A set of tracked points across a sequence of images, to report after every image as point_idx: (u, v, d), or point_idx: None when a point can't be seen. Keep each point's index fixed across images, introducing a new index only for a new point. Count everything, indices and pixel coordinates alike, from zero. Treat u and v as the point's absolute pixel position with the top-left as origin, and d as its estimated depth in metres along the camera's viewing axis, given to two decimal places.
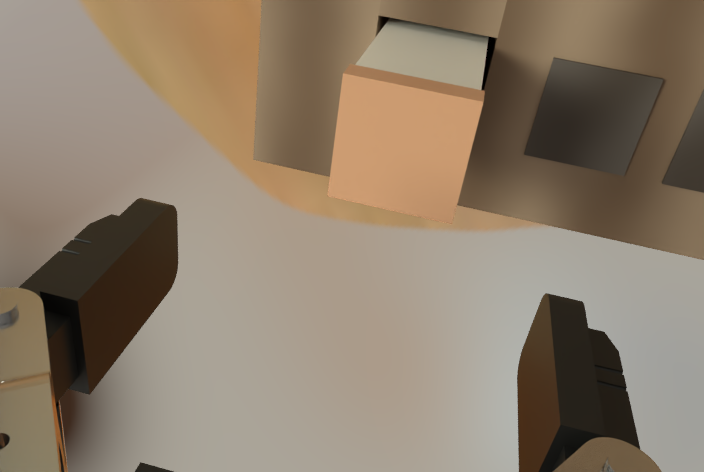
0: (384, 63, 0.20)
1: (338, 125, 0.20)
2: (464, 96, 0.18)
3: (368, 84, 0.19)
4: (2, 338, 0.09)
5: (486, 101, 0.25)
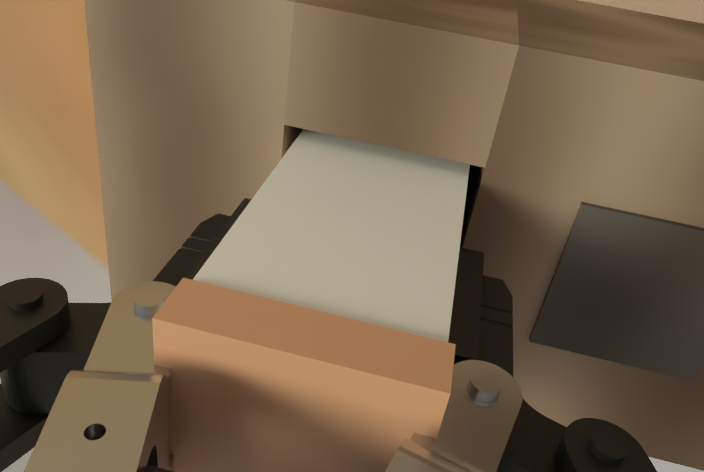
0: (262, 260, 0.10)
1: None
2: (409, 376, 0.09)
3: (206, 341, 0.09)
4: (142, 330, 0.10)
5: None
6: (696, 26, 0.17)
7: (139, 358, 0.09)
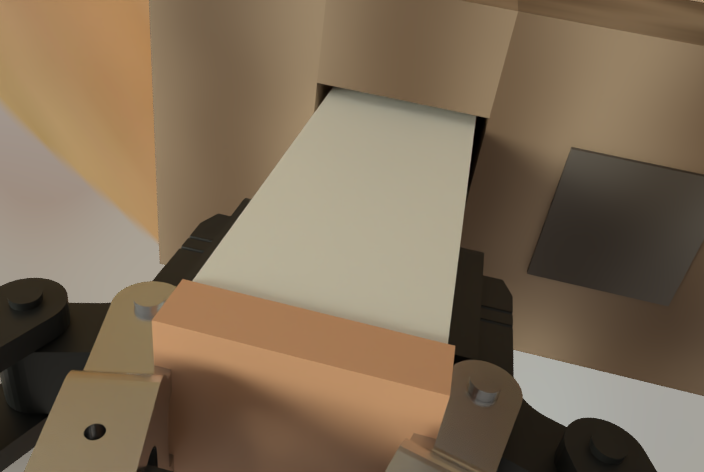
0: (262, 262, 0.10)
1: None
2: (409, 378, 0.09)
3: (206, 343, 0.09)
4: (142, 329, 0.10)
5: (473, 201, 0.18)
6: (673, 0, 0.19)
7: (139, 358, 0.09)
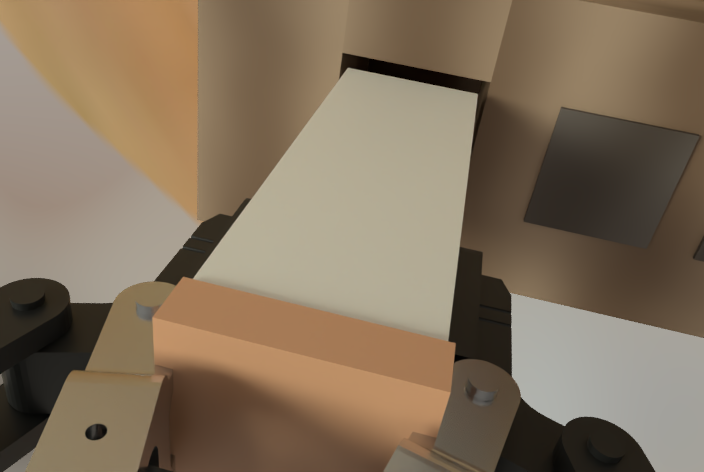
0: (262, 260, 0.10)
1: None
2: (410, 374, 0.09)
3: (207, 340, 0.09)
4: (144, 329, 0.10)
5: (477, 157, 0.20)
6: None
7: (141, 358, 0.09)
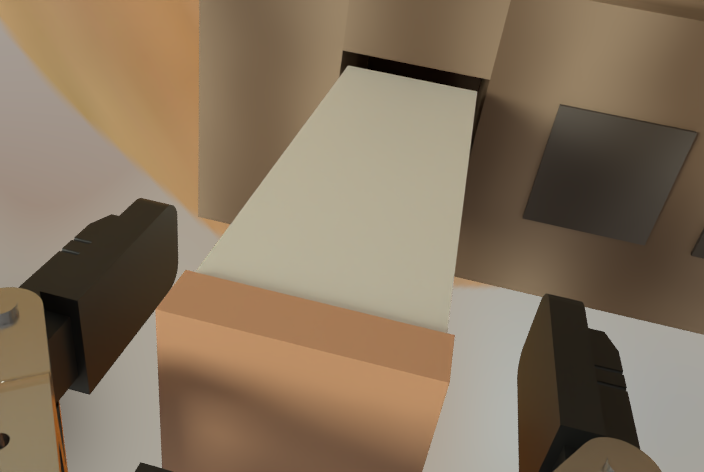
0: (264, 254, 0.11)
1: (162, 392, 0.10)
2: (409, 365, 0.09)
3: (209, 332, 0.09)
4: (1, 338, 0.09)
5: (476, 154, 0.20)
6: None
7: None
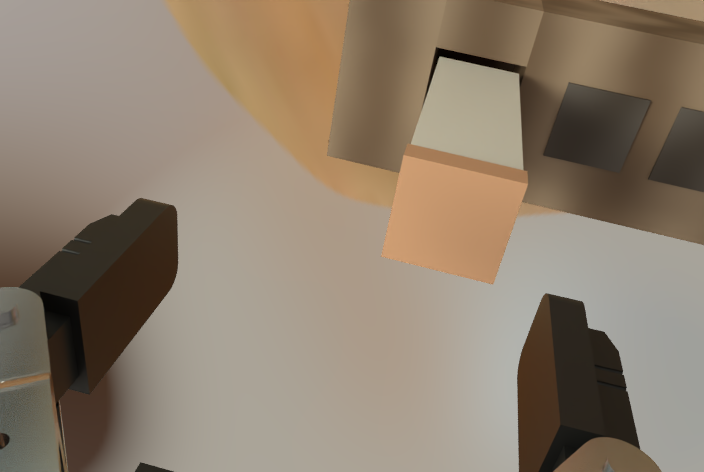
0: (436, 141, 0.23)
1: (396, 197, 0.22)
2: (511, 178, 0.21)
3: (425, 165, 0.21)
4: (1, 338, 0.09)
5: None
6: (626, 7, 0.34)
7: None
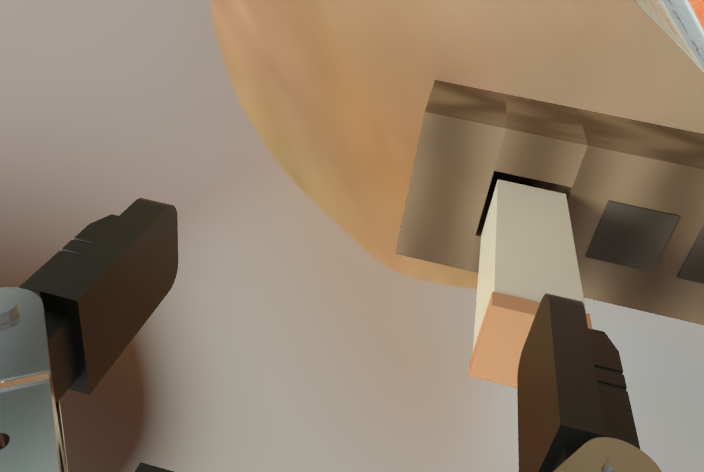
0: (512, 285, 0.28)
1: (483, 334, 0.28)
2: None
3: (509, 312, 0.27)
4: (2, 338, 0.09)
5: None
6: (654, 127, 0.40)
7: None
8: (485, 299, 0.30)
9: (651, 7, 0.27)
